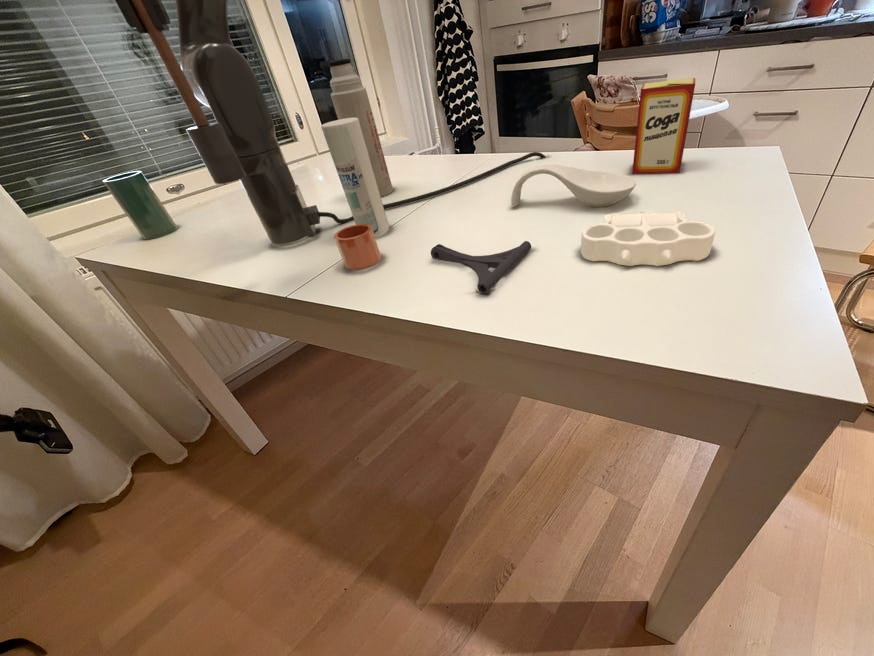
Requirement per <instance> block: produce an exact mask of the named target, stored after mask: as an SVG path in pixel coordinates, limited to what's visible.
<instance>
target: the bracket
mask: <svg viewBox="0 0 874 656" xmlns="http://www.w3.org/2000/svg"><path fill="white" fill-rule="evenodd" d="M531 249H532V243H531V242H529V241H528V240H524V241H523V242H522V243H521V244H520V245H519V246H516V247H513V248H511V249H509V250H506V251H505V250H504V251H501V252H497V253H493V254H485V255H471V254H467V253H464V252H460V251H457V250H455V249H452V248H449V247H447V246H445V245H443V244H440V243H438V244H436V245H435V246H433V247H432V248H431V249H430V256H431V258H432V260H433V259H434V260H439V261H446V262H452V263H458V264H459V263H460V264H464V265H466V266H468V267H470V268H471V269H473V270H474V271H475V273H476V275H477V277H478V279H477V291H478V292H479V293H481V294H483V295H485V294H487V293H488V292H490V291H491V290H492V289H493V288H494V286H495V285H496V284H497V283H498V282H499V281H500V280H501V279H502V278H503V277H504V276H505V275H506V274H508V272H509V271H510V270H511V269H512V268H514V266H515V265H516V264H518V263H519V262H520V261H521V259H522V258H524V257H525V256H526V255H527V254H528V252H529V251H530V250H531ZM489 268H492V269H493V270H492V271H491V270H489Z"/></svg>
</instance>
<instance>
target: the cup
mask: <svg viewBox="0 0 874 656" xmlns="http://www.w3.org/2000/svg"><path fill="white" fill-rule="evenodd" d="M102 183H103V184H104V185H105V187H106V188H107V190H108V191H109V193H110V194H111V195H112V197H113V199H114V200H115V201H116V202H117V204H118V205H119V207H120V208H121V209H122V211H123V212H124V213H125V215H126V216H127V217H128V219H129V221H130V222H131V223H132V225H133V226H134V227H135V229H136V230H137V231H138V233H139V235H141V237H142V238H143V239H144V240H152V239H157V238H161V237H164V236H167V235H170V234H172V233H173V232H175V231H176V230H178V226H177V224H176V222H175V221H174V220H173V218H172V216H171V215H170V214H169V212H168V210H167V209H166V207H165V206H164V204H163V203H162V201H161V199H160V198H159V196H158V195H157V194H156V192H155V190H154V189H153V187H152V186H151V184H150V183H149V181H148V179H147V178H146V177H145V175H144V174H143V171H141V170H135V171H129V172H125V173H121V174H116V175H114V176H110V177H108V178H106V179H103V180H102Z"/></svg>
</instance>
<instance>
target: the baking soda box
mask: <svg viewBox="0 0 874 656" xmlns="http://www.w3.org/2000/svg"><path fill="white" fill-rule="evenodd" d="M695 87H696V77H691V78H679V79H668V80H667V81H666V80H665V81H654V82H646V83H643V84H642V86H641V88H640V94H639V103H638V112H637V113H638V114H637V122H636V123H637V124H636V131H635V140H634V141H635V142H634V150H633V161H632V170H631V175H645V174H646V175H647V174H649V175H651V174H680V172H681V168H682V162H683V156H684V152H685V151H684V150H685V145H686V138H687V133H688V128H689V122H690V116H691V112H692V105H693V99H694V94H695V89H696V88H695Z"/></svg>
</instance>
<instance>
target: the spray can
mask: <svg viewBox="0 0 874 656" xmlns="http://www.w3.org/2000/svg"><path fill="white" fill-rule="evenodd" d="M320 127H321V130H322V133H323V136H324V139H325V142H326V145H327V147H328V150H329V153H330V156H331V159H332V161H333V164H334V167H335V170H336V173H337V176H338V178H339V182H340V184H341V187H342V191H343V192H344V196H345V199H346V201H347V204H348V207H349V209H350V212H351V214H352V216H353V218H354V220H353V221H354V223H355V224H354V225H356V224H368V225H371V226H372V229H373V232H374V235H375V237H376V236H379V235H382V234H384V233H386V232H388V230H389V229H390V225H389V222H388V218H387V214H386V211H385V209H384V207H383V205H384V203H383V200H382V197H380V193H379V190H378V186H377V182H376V179H375V175H374V172H373V168H372V165H371V161H370V158H369V154H368V151H367V147H366V144H365V140H364V137H363V133H362V130H361V126H360V123H359V120H358V118H346V119H340V120H338V119H336V120H332V121H328V122H326V123H325V122H324V123H323V124H321V126H320Z"/></svg>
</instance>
